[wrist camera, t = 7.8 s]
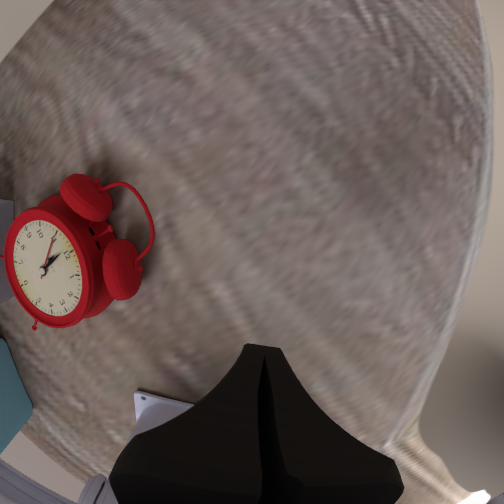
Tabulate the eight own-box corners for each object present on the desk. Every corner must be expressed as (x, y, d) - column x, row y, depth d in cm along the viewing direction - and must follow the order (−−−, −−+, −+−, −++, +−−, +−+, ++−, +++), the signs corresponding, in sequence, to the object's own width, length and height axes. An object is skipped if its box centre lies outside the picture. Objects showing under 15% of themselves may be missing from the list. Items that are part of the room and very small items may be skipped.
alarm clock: (-17, 244, 18) (58, 141, 13) (32, 224, 24) (126, 136, 18) (37, 350, 20) (143, 317, 15) (79, 316, 26) (192, 270, 20)
